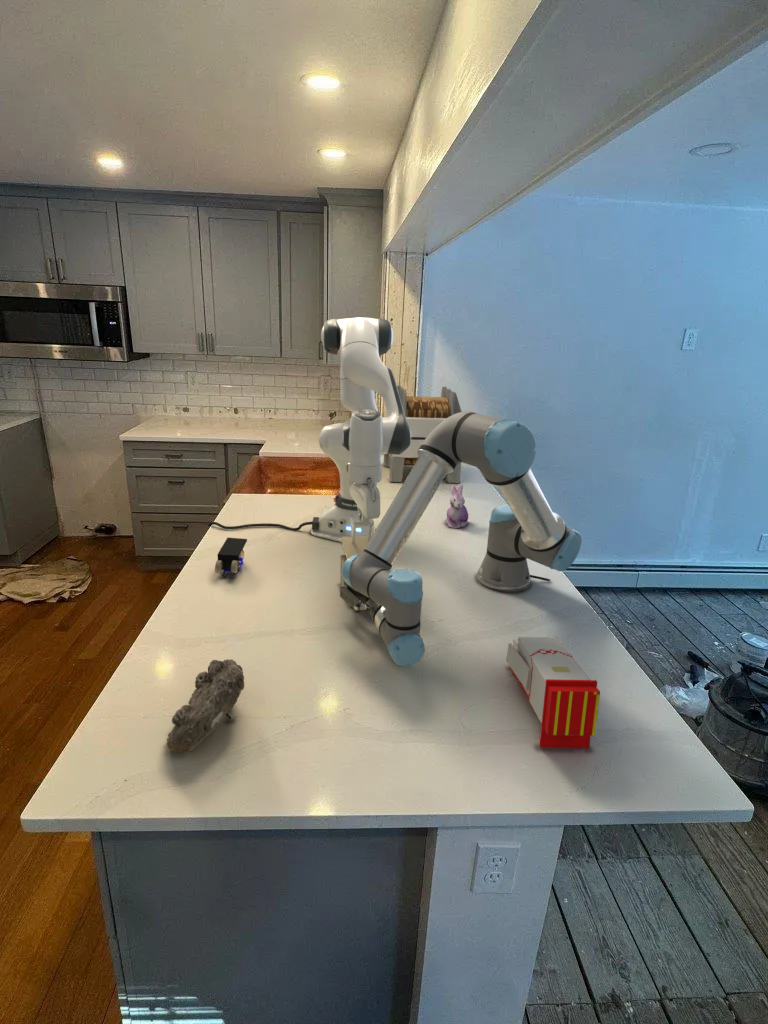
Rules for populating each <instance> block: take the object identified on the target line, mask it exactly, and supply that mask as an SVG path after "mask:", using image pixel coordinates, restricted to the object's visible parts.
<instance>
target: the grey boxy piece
mask: <svg viewBox="0 0 768 1024" xmlns="http://www.w3.org/2000/svg"><path fill="white" fill-rule="evenodd" d="M397 388H398V392H399V396H400V399H401V403H402V407H403V410H404V414H405V416H406V419H407V421H408V424H409V427H410V431H411V442H410V446H409V447H408V448H407V449H406V450H405V451H404V452H403V453H401V454H400V455H395V454H388V453H387V454H384V455H383V462H382V465H383V466H384V467H388V468H389V475H388V476H389V477H388V478H389V480H390V482H391V483H402V482H403V475H404V469H405V466H406V467H407V466H411V467H413V466H414V465H415V463H416V461H417V460H418V453H417V451H418V450H419V448H420V446H421V444H422V443H423V441H424V440H425V439H426V437H427V436H428V435H429V434H430V432H431V431H432V430H433V429H434V428H435V427H436V426H437V425H439V424H440V423H441V422H442V421H443V420H445V419H446V418H448V417H450V416H452V415H454V414H457V413H460V412H462V408H461V405H460V402H459V398H458V395H457V392H455V391H453V390H452V389H451V388H447V386H442V387H441V392H440V393H441V394H440V396H415V395H414V396H413V395H412V396H411V395H407V394H408V393H407V390H406V389H404V388H403V387H402V385H399V384H398V385H397ZM385 414H386V415H385V417H388V414H387V411H386V413H385ZM461 472H462V462H460V463H459V464H457V466H456V467H455V469H454V470H453V472H452V473H448V474H446V475H445V477H444V479H445V481H446V482H447V483H449V484H455V483H456V484H459V483H461Z"/></svg>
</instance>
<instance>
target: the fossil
mask: <svg viewBox="0 0 768 1024" xmlns="http://www.w3.org/2000/svg"><path fill="white" fill-rule="evenodd" d="M243 670H244V669H243V667H242V665H240V664H237V662H236V661H235V660H234V659H232V658H231V659H227V658H226V659H224V660H223V661H222V660H217V659H212V660H211V661H210V663H209V665H208V666H207V671H201V672H199V673H198V674H197V675H196V676H195V680H194V684H195V685H194V687H195V689H194V690H193V693H192V694H191V697H190V698H189V700H188V704H184V705H182V706H181V707H180V709H177V710H176V711H175V713H174V715H173V716H172V718H171V723H172V724H173V727H172V730H171V731H170V732H168V734H167V738H166V741H167V742H166V745H167V749H168V750H169V751H173V752H174V753H176V754H178V753H182V752H188V751H189V752H192V751H193V750H195V748H196V747H197V746H199V744H200V743H201V742H203V741H204V740H205V739H206V738H207V737H208V736H209V735H210V734H211V733H212V732H214V730H215V729H217V727H218V726H219V724H220V722H221V721H222V720H223V719H224V718H225V716H226V717H227V719H229V720H233V717H232V715H230V714H229V710H230V709H231V708H234V706H235V704H236V703H237V702H238V699H239V697H240V695H241V693H242V691H243V690H245V689H244V688H245V675H244V671H243Z"/></svg>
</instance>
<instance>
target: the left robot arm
mask: <svg viewBox="0 0 768 1024" xmlns="http://www.w3.org/2000/svg"><path fill="white" fill-rule="evenodd" d="M320 341H321V344H322V346H323V348H324V349H323V350H325V352H327V354H330V355H335V356H337V355H339V357H340V358H339V359H340V369H339V387H340V388H339V394H340V398H339V399H340V403H341V405H342V407H343V408H344V409H346V410H347V411H349V412H351V417H349V418H348V419H347V420H346V421H344V422H338V423H332V424H328V425H325V426H324V427H322V429H321V431H320V432H319V435H318V444H319V447H320V449H321V451H322V452H323V454H325V455H326V456H327V457H329V458H330V459H331V460H332V462H333V463H334V464H335V466H336V467H337V470H338V474H339V483H340V484H339V485H340V488H339V489H340V490H339V491H338V492H337V494H336V495H335V496H334V497H333V502H334V504H333V505H331V506H329V507H328V508H326V509H325V510H323V512H321V514H320V515H319V516H313V518H312V521H305V522H302V523H300V524H299V525H298V526H297V527H290V526H287V525H284V524H281V523H271V522H270V523H269V522H268V523H267V522H265V523H264V522H262V523H248V524H242V525H233V526H231V525H230V526H229V525H224V524H221V523H220V522H217V521H211V522H209V523H208V524H207V527H212V526H213V525H215V526H217V527H219V528H221V529H225V530H238V529H244V528H245V529H246V528H251V527H253V528H255V527H278V528H282V529H285V530H288V531H293V532H297V531H300V530H301V529H302V528H303V527H304V526H310V525H311V530H310V533H311V536H315V537H319V538H323V539H326V540H330V541H336V542H339V543H342V541H341V537H352V533H353V521H361V523H362V525H363V526H364V527H356V534H355V536H367V535H368V533H369V526H365V525H368V524H369V520H373V521H374V519H379V518H380V517H381V491H380V489H379V487H378V483H380V482H382V480H383V458H382V455H383V456H384V454H387V453H388V454H395V455H400V454H401V453H403V452H404V451H405V450H406V449H407V448H408V447H409V446H410V442H411V431H410V427H409V424H408V421H407V419H406V416H405V414H404V410H403V407H402V403H401V399H400V396H399V392H398V388H397V386H398V385H397V382H396V377H395V375H394V374H393V371H392V369H390V368H389V367H388V366H386V365H385V364H384V362H383V361H382V360H381V359H382V358H381V356H383V355H386V354H387V353H388V352H389V351H390V350H391V348H392V345H393V342H394V330H393V328H392V325H391V322H390V321H389V320H388V319H385V318H381V317H378V318H374V317H363V316H362V317H361V316H357V317H346V318H330V319H327V320H326V321H325V322H324V323H323V326H322V328H321V332H320ZM375 394H379V395H380V396H381V397H382V399H383V402H384V405H385V409H386V412H387V414H388V417H386V416H384V417H383V416H382V413H381V412H380V411H379V410H378V406H377V403H376V395H375ZM375 530H376V528H375V525H374V526H372V533H371V535H373V534H374V532H375Z"/></svg>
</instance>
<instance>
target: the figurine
mask: <svg viewBox="0 0 768 1024" xmlns="http://www.w3.org/2000/svg"><path fill="white" fill-rule="evenodd" d="M463 490H464V485H463V484H460V485H459V487H457V488H456V487H455V485H451V487H450V491H451V496H450V499H449V504H450V507H449V508H447V510H446V519H445V524H446V525H447V527H449V528H452V529H453V528H454V529H459V528H464V527H466V525H468V520H469V513H468V509H467V507H466V506H465V503H466V501H465V497H464V494H463Z"/></svg>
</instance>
